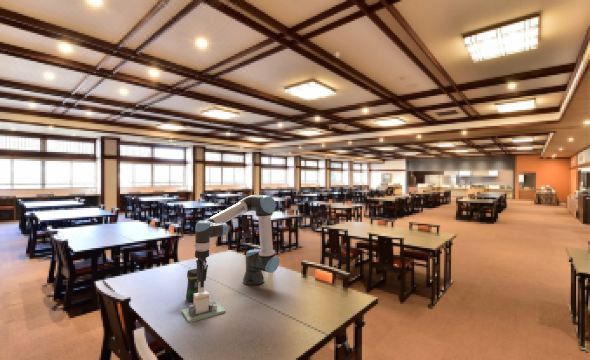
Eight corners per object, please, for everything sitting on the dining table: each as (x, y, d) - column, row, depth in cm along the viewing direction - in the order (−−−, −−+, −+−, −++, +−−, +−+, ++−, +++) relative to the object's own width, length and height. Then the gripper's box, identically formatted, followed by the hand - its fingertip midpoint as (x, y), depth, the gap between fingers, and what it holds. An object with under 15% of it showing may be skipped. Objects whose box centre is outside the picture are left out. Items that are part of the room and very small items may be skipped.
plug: (205, 308, 154) (206, 290, 154) (208, 311, 151) (209, 293, 151) (193, 311, 150) (193, 293, 150) (195, 315, 146) (196, 296, 146)
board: (216, 303, 164) (216, 296, 164) (225, 312, 153) (225, 305, 153) (181, 311, 152) (181, 304, 152) (188, 322, 141) (188, 314, 141)
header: (208, 306, 156) (208, 298, 156) (212, 311, 151) (212, 303, 151) (188, 311, 150) (188, 303, 150) (192, 317, 144) (192, 308, 144)
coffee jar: (190, 303, 163) (191, 272, 163) (184, 299, 168) (184, 269, 168) (205, 298, 170) (205, 268, 170) (198, 294, 175) (199, 265, 175)
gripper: (191, 248, 153) (190, 289, 153) (199, 253, 143) (197, 298, 143) (205, 246, 158) (204, 287, 158) (213, 251, 147) (211, 295, 147)
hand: (201, 292), depth 150 cm, fingers closed
